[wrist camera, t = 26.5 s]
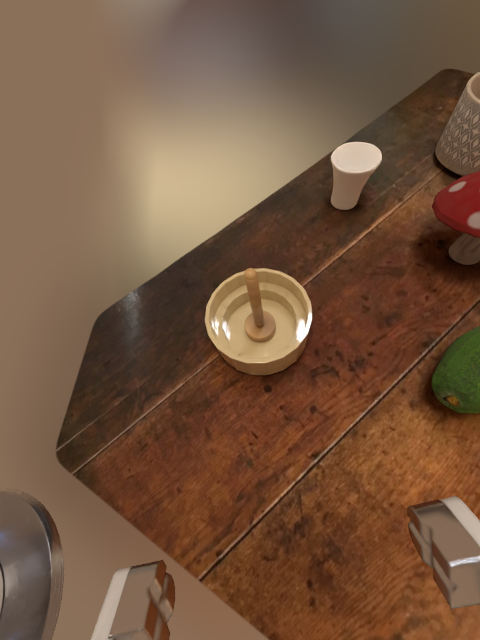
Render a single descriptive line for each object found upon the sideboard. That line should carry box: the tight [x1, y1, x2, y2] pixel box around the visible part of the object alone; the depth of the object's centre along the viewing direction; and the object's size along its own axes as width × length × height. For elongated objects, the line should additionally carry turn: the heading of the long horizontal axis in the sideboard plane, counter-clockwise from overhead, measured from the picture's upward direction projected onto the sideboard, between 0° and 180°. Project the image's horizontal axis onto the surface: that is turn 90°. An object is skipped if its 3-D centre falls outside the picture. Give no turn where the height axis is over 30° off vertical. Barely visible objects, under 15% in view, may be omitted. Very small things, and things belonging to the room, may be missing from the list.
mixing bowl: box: [205, 268, 312, 375], centre depth 43 cm, size 16×16×7 cm
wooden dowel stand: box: [244, 268, 276, 343], centre depth 39 cm, size 5×5×17 cm
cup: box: [331, 142, 382, 210], centre depth 53 cm, size 9×9×10 cm
